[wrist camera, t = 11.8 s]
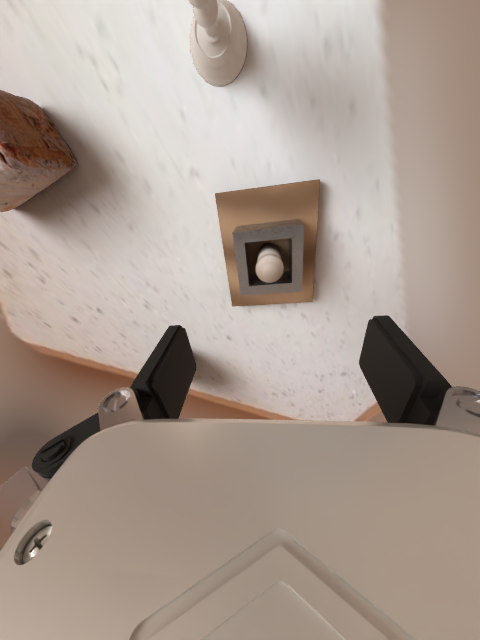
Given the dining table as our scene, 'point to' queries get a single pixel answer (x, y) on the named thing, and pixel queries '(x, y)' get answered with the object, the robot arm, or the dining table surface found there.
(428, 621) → the robot arm
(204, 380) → the dining table surface
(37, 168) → the food item
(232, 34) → the chalice
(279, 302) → the brown flat pegged piece
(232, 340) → the dining table surface
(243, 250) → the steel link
